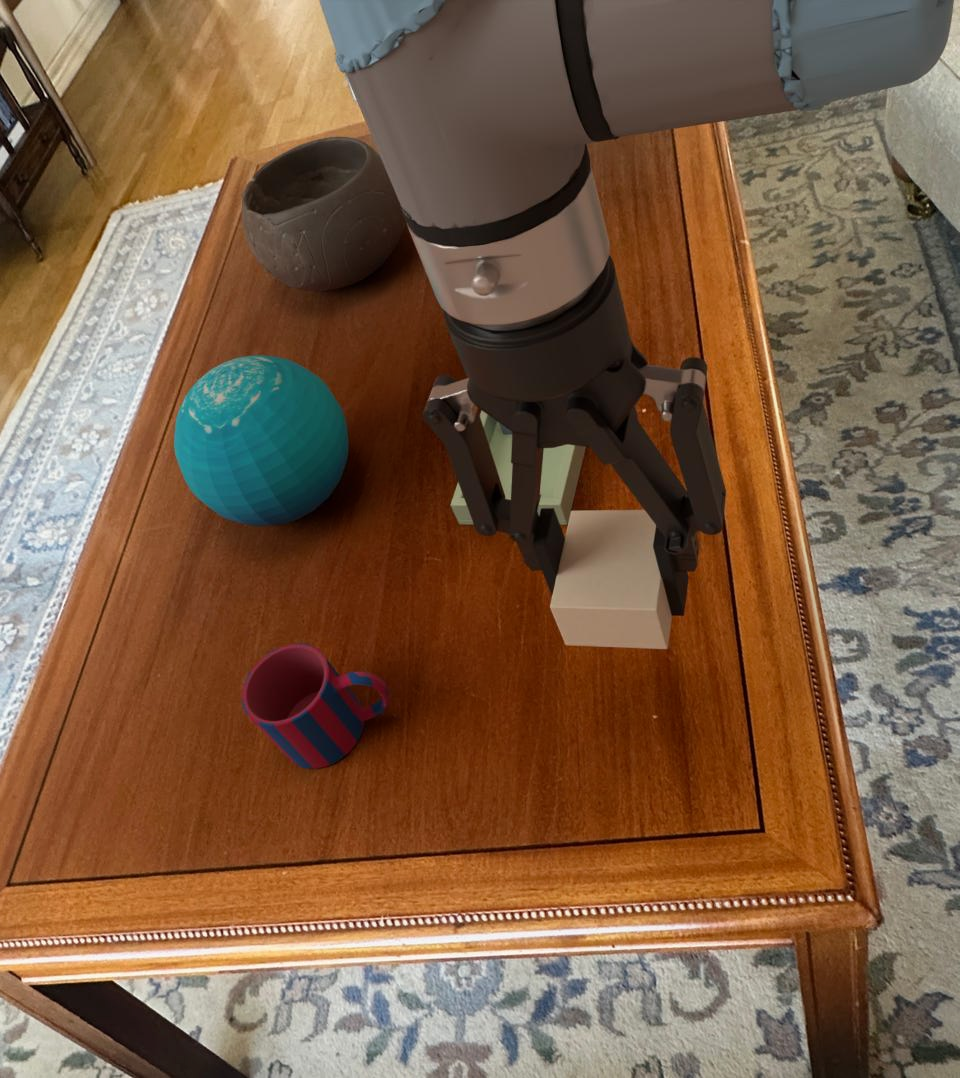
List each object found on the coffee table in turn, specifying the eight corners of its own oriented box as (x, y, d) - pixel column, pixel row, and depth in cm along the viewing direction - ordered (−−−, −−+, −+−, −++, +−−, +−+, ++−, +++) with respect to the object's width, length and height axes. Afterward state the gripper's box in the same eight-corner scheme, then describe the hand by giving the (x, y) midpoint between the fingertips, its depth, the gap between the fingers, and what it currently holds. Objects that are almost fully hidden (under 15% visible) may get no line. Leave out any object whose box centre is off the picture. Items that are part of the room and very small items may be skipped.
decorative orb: (380, 425, 95) (316, 302, 84) (366, 544, 85) (293, 423, 74) (240, 455, 98) (161, 340, 87) (212, 573, 89) (120, 461, 78)
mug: (294, 691, 77) (255, 645, 72) (412, 686, 74) (380, 638, 69) (273, 770, 73) (230, 726, 68) (396, 768, 70) (361, 723, 65)
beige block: (584, 550, 61) (570, 509, 58) (681, 551, 59) (671, 508, 56) (565, 645, 57) (549, 607, 54) (668, 649, 55) (656, 609, 52)
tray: (507, 374, 94) (499, 353, 92) (604, 368, 91) (599, 346, 89) (459, 524, 84) (449, 505, 82) (567, 525, 80) (560, 504, 78)
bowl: (254, 285, 118) (202, 193, 109) (372, 205, 122) (331, 110, 113) (323, 340, 107) (271, 242, 97) (451, 250, 110) (413, 148, 101)
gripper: (299, 354, 42) (460, 643, 59) (751, 318, 36) (787, 656, 53) (351, 247, 47) (487, 545, 64) (763, 196, 40) (793, 545, 57)
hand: (622, 594), depth 58 cm, fingers closed on beige block, 6 cm apart
